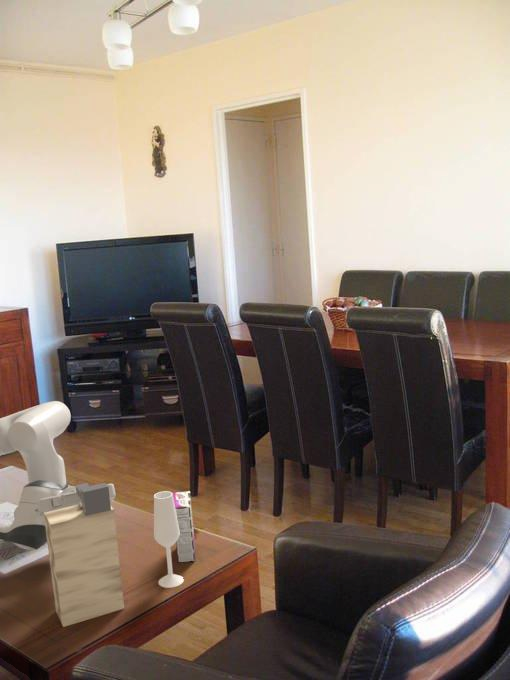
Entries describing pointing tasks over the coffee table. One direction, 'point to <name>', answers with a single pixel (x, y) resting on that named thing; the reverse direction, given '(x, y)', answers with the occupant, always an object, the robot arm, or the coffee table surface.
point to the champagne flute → (166, 533)
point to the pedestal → (83, 563)
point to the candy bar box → (184, 527)
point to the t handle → (94, 498)
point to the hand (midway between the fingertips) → (80, 494)
